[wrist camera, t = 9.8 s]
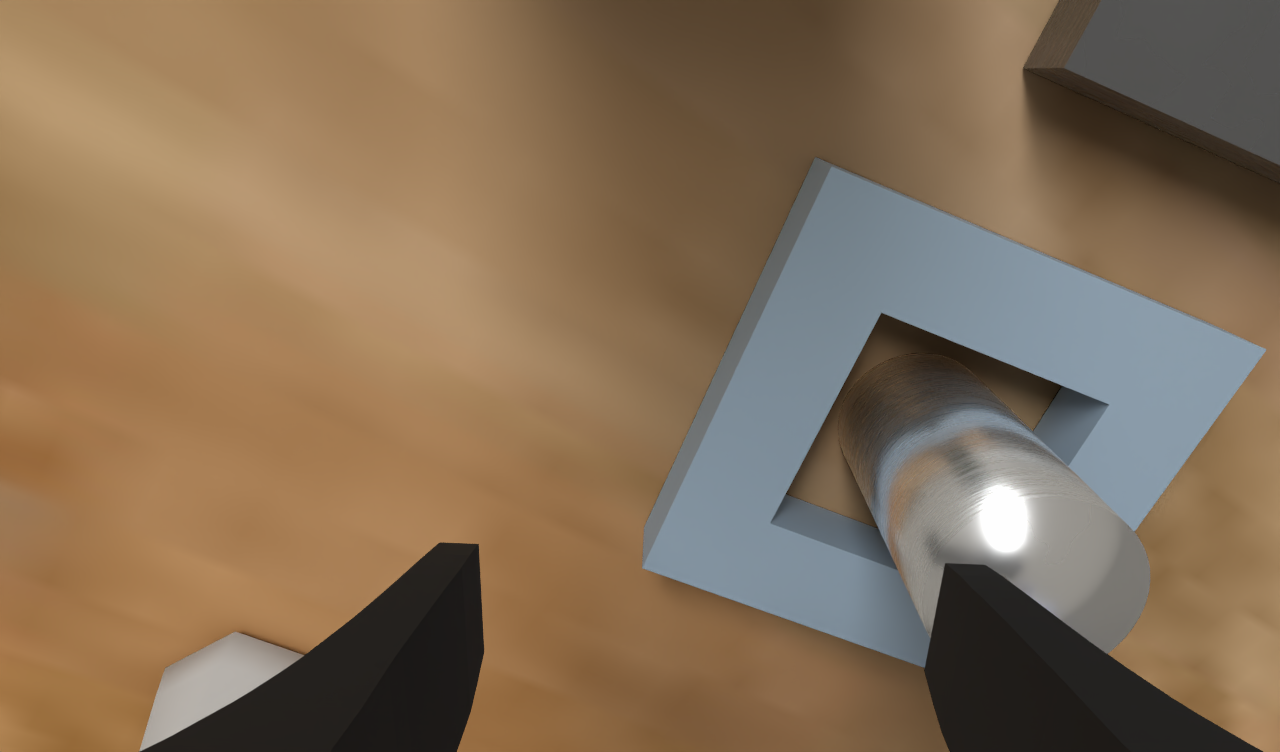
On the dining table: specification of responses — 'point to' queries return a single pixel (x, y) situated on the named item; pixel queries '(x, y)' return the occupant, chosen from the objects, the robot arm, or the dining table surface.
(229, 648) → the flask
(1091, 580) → the steel peg
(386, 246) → the dining table surface
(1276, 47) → the socket block
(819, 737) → the dining table surface
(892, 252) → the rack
